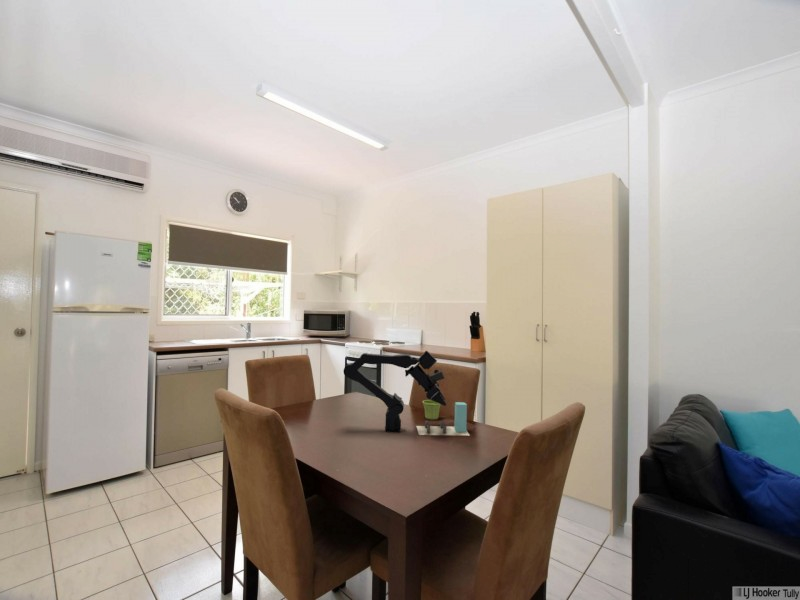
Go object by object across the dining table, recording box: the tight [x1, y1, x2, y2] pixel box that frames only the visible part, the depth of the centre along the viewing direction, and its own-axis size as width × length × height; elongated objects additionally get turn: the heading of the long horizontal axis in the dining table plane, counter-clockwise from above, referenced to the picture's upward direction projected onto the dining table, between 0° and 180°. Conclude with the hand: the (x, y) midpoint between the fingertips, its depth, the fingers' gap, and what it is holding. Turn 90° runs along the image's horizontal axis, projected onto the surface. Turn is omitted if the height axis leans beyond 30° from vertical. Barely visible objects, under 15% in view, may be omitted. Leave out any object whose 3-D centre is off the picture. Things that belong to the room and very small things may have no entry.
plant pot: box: [422, 399, 442, 420], centre depth 185 cm, size 9×9×9 cm
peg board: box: [415, 420, 471, 437], centre depth 166 cm, size 22×12×4 cm, turn 93°
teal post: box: [453, 401, 468, 432], centre depth 166 cm, size 4×4×12 cm
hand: (445, 402), depth 167 cm, fingers open, 9 cm apart
